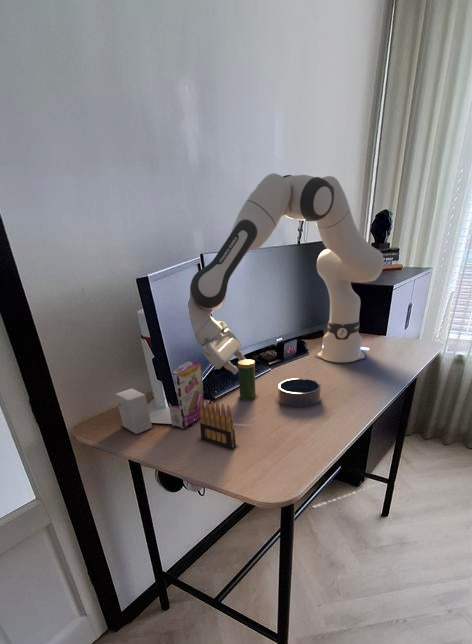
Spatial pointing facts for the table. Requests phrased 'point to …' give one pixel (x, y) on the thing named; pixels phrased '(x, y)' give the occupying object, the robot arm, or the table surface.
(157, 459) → the table surface
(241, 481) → the table surface
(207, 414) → the ammunition clip
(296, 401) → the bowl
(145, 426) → the small box
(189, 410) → the candy bar box
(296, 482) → the table surface
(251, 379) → the tea tin
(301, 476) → the table surface
